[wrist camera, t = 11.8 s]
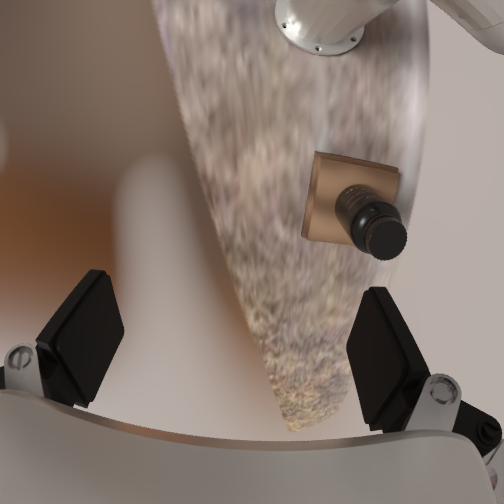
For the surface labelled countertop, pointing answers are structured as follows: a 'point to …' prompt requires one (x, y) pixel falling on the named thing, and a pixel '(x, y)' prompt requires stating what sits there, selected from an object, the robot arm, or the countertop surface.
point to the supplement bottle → (371, 222)
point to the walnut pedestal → (332, 184)
